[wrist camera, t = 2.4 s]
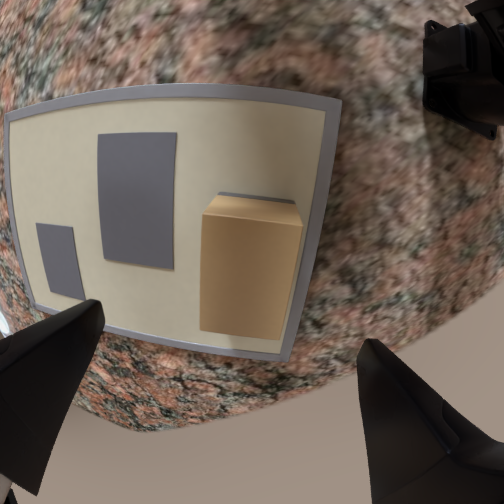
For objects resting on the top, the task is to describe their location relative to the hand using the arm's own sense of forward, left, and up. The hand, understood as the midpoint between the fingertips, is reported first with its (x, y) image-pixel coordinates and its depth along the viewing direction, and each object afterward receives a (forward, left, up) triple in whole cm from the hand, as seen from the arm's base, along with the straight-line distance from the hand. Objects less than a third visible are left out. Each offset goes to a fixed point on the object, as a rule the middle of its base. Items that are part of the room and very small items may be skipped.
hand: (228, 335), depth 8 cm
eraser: (0, 0, -8) cm, 8 cm away
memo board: (+8, 0, -9) cm, 12 cm away
